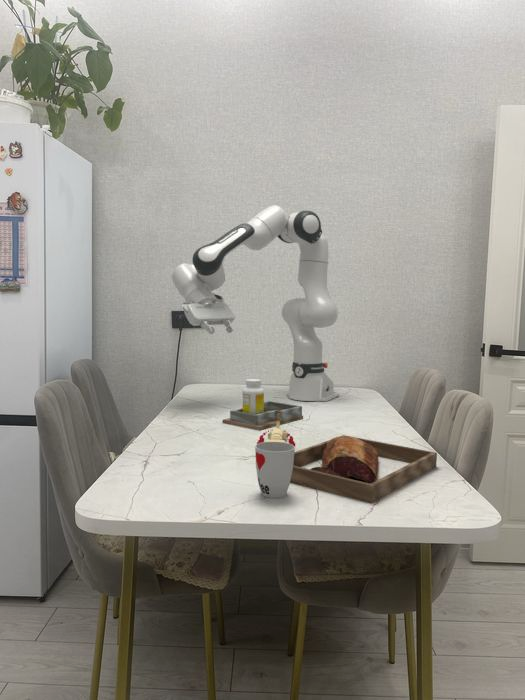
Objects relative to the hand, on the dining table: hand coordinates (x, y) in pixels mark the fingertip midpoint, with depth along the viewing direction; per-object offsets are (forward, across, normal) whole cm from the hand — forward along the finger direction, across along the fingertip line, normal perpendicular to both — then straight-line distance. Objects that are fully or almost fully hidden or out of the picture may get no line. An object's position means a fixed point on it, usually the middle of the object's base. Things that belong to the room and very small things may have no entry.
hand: (221, 332), depth 203 cm
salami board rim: (+68, -30, -30) cm, 80 cm away
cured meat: (+68, -33, -28) cm, 80 cm away
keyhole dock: (+33, -2, +5) cm, 34 cm away
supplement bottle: (+33, -7, +5) cm, 34 cm away
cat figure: (+51, -27, -12) cm, 59 cm away
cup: (+65, -55, -26) cm, 89 cm away
